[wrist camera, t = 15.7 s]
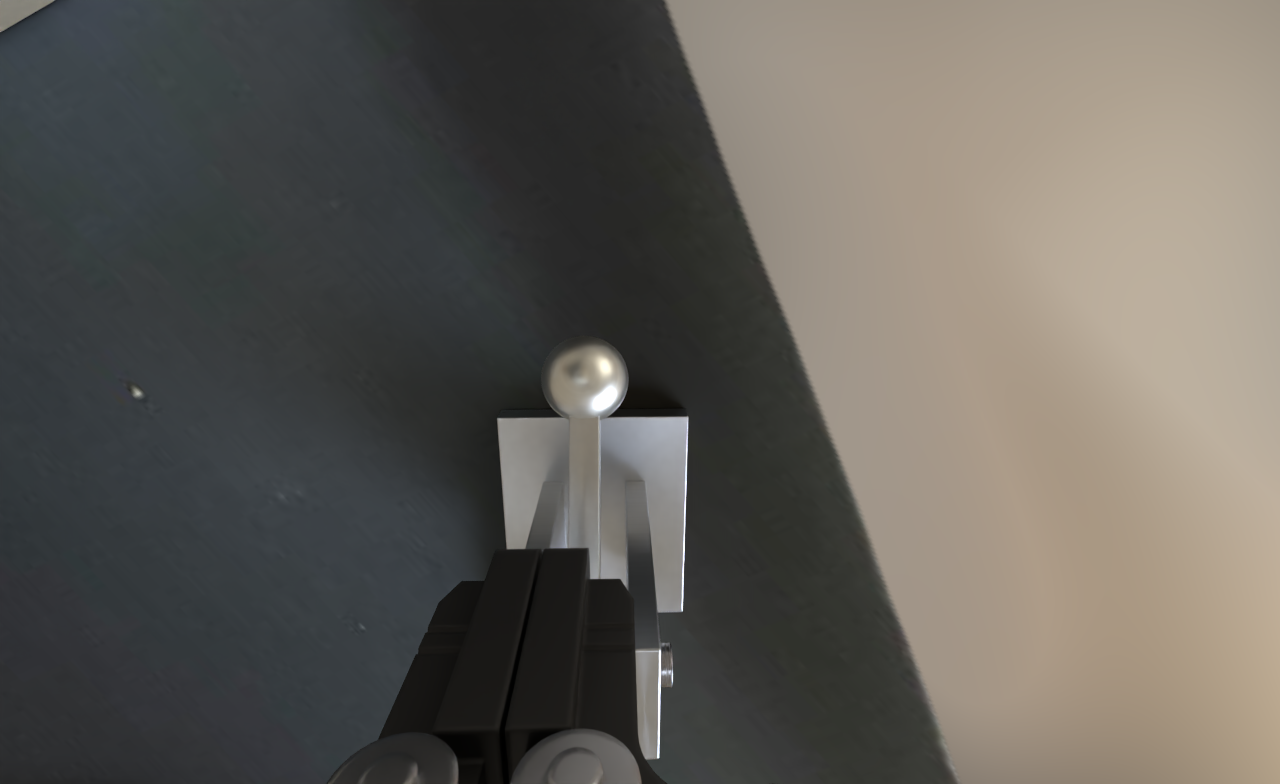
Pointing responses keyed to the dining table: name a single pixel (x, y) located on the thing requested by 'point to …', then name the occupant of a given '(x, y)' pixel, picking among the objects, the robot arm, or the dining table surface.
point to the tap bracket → (611, 519)
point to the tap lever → (585, 427)
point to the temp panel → (18, 10)
